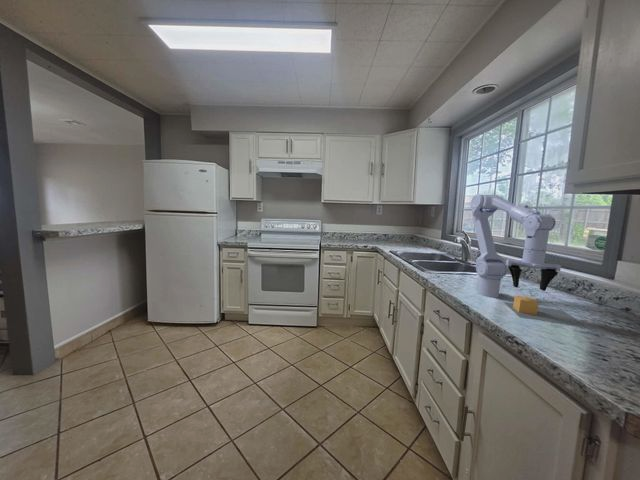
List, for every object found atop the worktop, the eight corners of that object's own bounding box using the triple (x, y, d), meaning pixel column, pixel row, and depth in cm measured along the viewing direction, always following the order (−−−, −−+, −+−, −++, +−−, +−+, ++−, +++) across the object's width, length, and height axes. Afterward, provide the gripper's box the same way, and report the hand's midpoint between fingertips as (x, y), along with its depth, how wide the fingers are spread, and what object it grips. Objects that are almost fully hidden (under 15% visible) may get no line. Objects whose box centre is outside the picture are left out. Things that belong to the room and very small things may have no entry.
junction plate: (502, 304, 94) (502, 301, 94) (561, 313, 88) (562, 310, 88) (519, 320, 80) (519, 317, 80) (590, 332, 74) (591, 328, 74)
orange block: (512, 307, 89) (514, 295, 88) (529, 309, 87) (531, 297, 87) (518, 312, 84) (520, 299, 84) (536, 314, 82) (538, 302, 82)
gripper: (513, 249, 82) (508, 288, 83) (569, 253, 77) (562, 295, 78) (505, 246, 88) (500, 282, 90) (556, 250, 83) (550, 288, 85)
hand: (528, 288), depth 85 cm, fingers open, 7 cm apart
